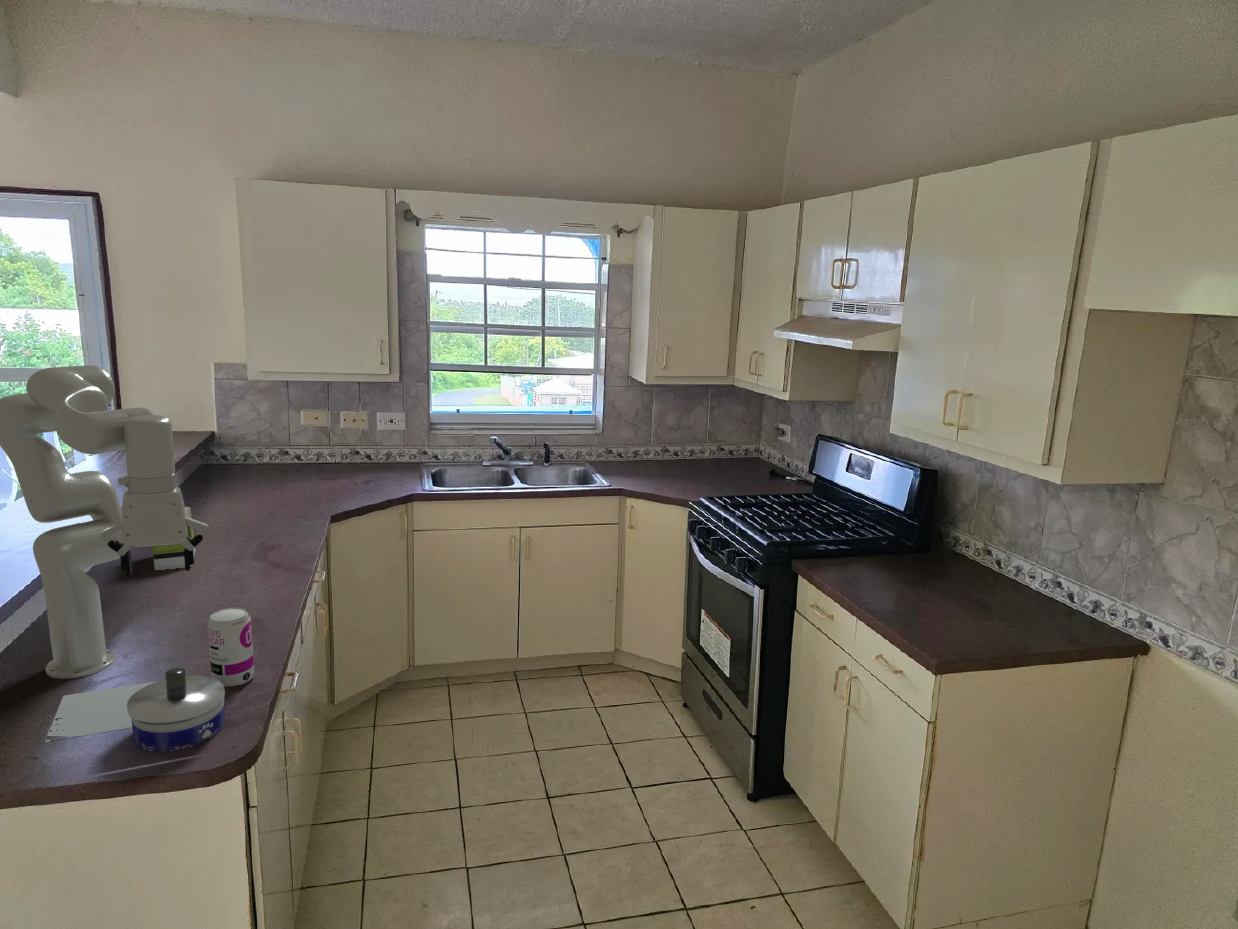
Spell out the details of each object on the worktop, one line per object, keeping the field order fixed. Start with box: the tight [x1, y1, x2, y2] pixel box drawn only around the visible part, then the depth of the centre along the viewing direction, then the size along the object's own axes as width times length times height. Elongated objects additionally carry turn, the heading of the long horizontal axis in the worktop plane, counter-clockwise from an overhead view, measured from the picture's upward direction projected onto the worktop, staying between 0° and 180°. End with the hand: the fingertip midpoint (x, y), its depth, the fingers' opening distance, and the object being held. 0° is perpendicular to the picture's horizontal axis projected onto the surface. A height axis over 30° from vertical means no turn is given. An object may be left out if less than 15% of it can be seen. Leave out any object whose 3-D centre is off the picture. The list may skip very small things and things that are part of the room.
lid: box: [127, 667, 226, 725], centre depth 148 cm, size 16×16×6 cm
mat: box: [44, 680, 159, 743], centre depth 156 cm, size 18×18×1 cm
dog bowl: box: [131, 698, 225, 751], centre depth 149 cm, size 15×15×6 cm
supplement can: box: [206, 607, 255, 688], centre depth 168 cm, size 8×8×15 cm
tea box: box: [151, 506, 196, 571], centre depth 235 cm, size 15×10×15 cm
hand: (159, 570), depth 149 cm, fingers open, 9 cm apart
